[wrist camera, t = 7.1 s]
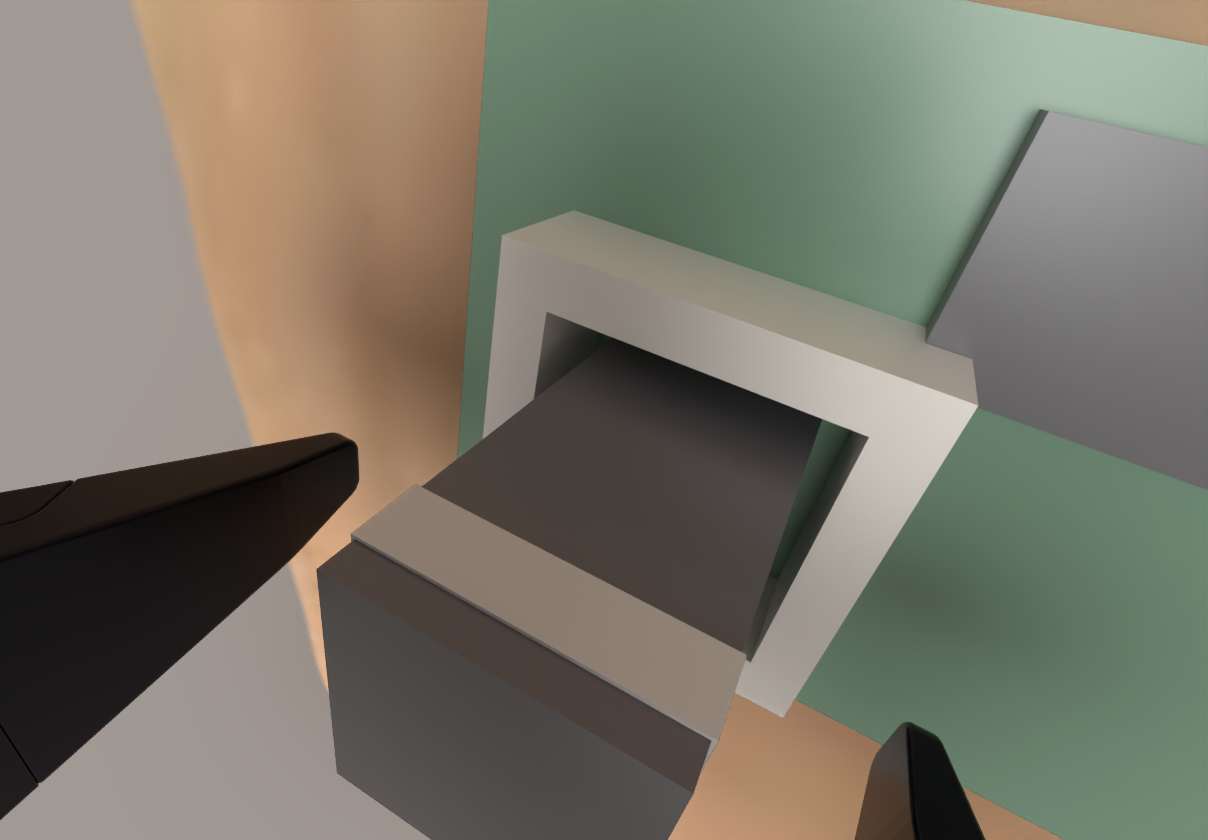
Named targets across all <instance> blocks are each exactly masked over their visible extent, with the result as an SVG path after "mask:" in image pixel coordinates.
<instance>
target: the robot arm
mask: <svg viewBox="0 0 1208 840" xmlns="http://www.w3.org/2000/svg"><path fill="white" fill-rule="evenodd" d="M358 482H359V461H358V447H357V445H356V443H355V442H354V441H353V440H351V439H349V438H347V437H345V436H343V435H341V434H338V433H326V434H321V435H315V436H310V437H304V438H299V439H293V440H288V441H283V442H277V443H272V444H266V445H261V446H255V447H250V448H245V449H239V450H233V451H228V452H222V453H217V454H211V455H206V456H201V457H195V458H190V459H184V460H179V461H173V462H168V463H162V464H157V465H151V466H146V467H140V468H135V469H129V470H124V471H118V472H113V473H108V474H102V475H96V476H91V477H86V478H80V479H77V480H76V481H71V480H69V481H63V482H58V483H53V484H47V485H42V486H36V487H30V488H24V489H18V490H12V491H6V492H1V493H0V820H1V819H2V818H3V817H4V816H5V815H7V814H8V813H9V812H10V811H11V810H12V809H13V808H14V807H16V806H17V805H18V804H19V803H20V802H21V801H22V800H23V799H24V798H25V797H27V796H28V795H29V794H30V793H31V792H32V791H33V790H35V788H37V787H38V785H39V783H41V782H43V781H44V780H45V779H46V778H47V777H49V776H50V775H51V774H52V773H53V772H54V771H55V770H56V769H58V768H59V767H60V766H61V765H62V764H63V763H64V762H65V761H66V760H68V759H69V758H70V757H71V756H72V755H73V754H74V753H75V752H77V751H78V750H79V749H80V748H81V747H82V746H83V745H84V744H86V743H87V742H88V740H90V739H91V738H92V737H93V736H94V735H96V734H97V733H98V732H99V731H100V730H101V729H102V728H103V727H105V726H106V725H107V724H108V723H109V722H110V721H111V720H112V719H114V718H115V717H116V716H117V715H118V714H119V713H120V712H121V711H122V710H123V709H124V708H126V707H127V706H128V705H129V704H130V703H131V702H133V701H134V700H135V699H136V698H137V697H138V696H139V695H140V694H142V693H143V692H144V691H145V690H146V689H147V688H148V687H149V686H150V685H152V684H153V683H154V682H155V681H156V680H157V679H158V678H159V677H161V676H162V675H163V674H164V673H165V672H166V671H167V670H168V669H169V668H170V667H172V666H173V665H174V664H175V663H176V662H177V661H178V660H179V659H181V658H182V657H183V656H184V655H185V654H186V653H187V652H188V651H190V650H191V649H192V648H193V647H194V646H195V645H196V644H197V643H199V642H200V641H201V640H202V639H203V638H204V637H205V636H206V635H208V634H209V633H210V632H211V631H212V630H213V629H214V628H215V627H216V626H217V625H219V624H220V623H221V622H222V621H223V620H224V619H225V618H227V617H228V616H229V615H230V614H231V613H232V612H233V611H234V610H236V608H238V607H239V606H240V605H241V604H242V603H243V602H244V601H246V600H247V599H248V598H249V597H250V596H251V595H252V594H253V593H255V592H256V591H257V590H258V589H259V588H260V587H261V586H262V585H263V584H265V583H266V582H267V581H268V580H269V579H270V578H271V577H272V576H274V575H275V574H276V573H277V572H278V571H279V570H280V569H281V568H282V567H284V566H285V565H286V564H287V563H288V562H289V561H290V560H291V559H292V558H293V557H294V556H295V555H296V554H297V553H298V552H299V551H300V550H301V549H302V548H303V547H304V546H305V545H306V543H307V542H308V541H309V540H310V539H311V538H312V537H313V536H314V535H315V534H316V533H317V532H318V530H319V529H320V528H321V527H322V526H323V525H324V524H325V523H326V522H327V521H328V520H329V519H330V517H331V516H332V515H333V514H334V513H335V512H336V511H337V510H338V509H339V508H340V507H341V506H342V504H343V503H344V502H345V501H346V500H347V499H348V498H349V497H350V496H351V495H352V494H353V492H354V491H355V489H356V488H357V485H358ZM855 840H985V838H984V835H983V833H982V831H981V829H980V826H979V824H978V822H977V819H976V817H975V815H974V813H973V810H972V808H971V806H970V804H969V801H968V799H967V797H966V795H965V792H964V790H963V788H962V786H961V783H960V781H959V779H958V777H957V774H956V772H955V770H954V768H953V765H952V763H951V761H950V759H949V756H948V754H947V752H946V750H945V747H944V745H943V743H942V741H941V740H940V739H939V737H938V736H936V735H935V734H933V733H931V732H929V731H927V730H925V729H924V728H922V727H920V726H918V725H916V724H914V723H912V722H908V721H907V722H903V723H902V724H900V725H899V727H898V728H897V729H896V730H895V731H894V733H893V734H892V735H891V736H890V737H889V739H888V740H887V741H886V742H885V744H884V745H883V746H882V747H881V748H880V750H879V751H878V752H877V754H876V756H875V758H874V760H873V762H872V765H871V769H870V773H869V777H868V782H867V786H866V791H865V795H864V800H863V804H862V809H861V813H860V818H859V822H858V827H857V831H856V836H855Z"/></svg>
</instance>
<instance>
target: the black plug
mask: <svg viewBox="0 0 1208 840" xmlns="http://www.w3.org/2000/svg"><path fill="white" fill-rule="evenodd" d="M821 422H822V419H821V418H818V417H816V416H813V415H811V414H808V413H806V412H803V411H800V410H798V409H795V408H793V407H790V406H788V405H785V404H782V403H780V402H777V401H775V400H772V399H770V398H767V397H764V396H762V395H759V394H757V393H754V392H752V391H749V390H746V389H744V388H741V387H739V386H736V385H734V384H731V383H728V382H726V381H723V380H721V379H718V378H716V377H713V376H710V375H708V374H705V373H703V372H700V371H698V370H695V369H692V368H690V367H687V366H685V365H682V364H680V363H677V362H674V361H672V360H669V359H667V358H664V357H662V356H659V355H656V354H654V353H651V352H649V351H646V350H644V349H641V348H638V347H636V346H633V345H631V344H628V343H626V342H623V341H620V340H618V339H615V338H612V339H610V340H609V341H608V342H607V343H605V344H604V345H603V346H601V347H600V348H599V349H598V350H596V351H595V352H594V353H592V354H591V355H590V356H589V357H587V358H586V359H585V360H584V361H582V362H581V363H580V364H578V365H577V366H576V367H575V368H573V369H572V370H571V371H569V372H568V373H567V374H566V375H564V376H563V377H562V378H561V379H559V380H558V381H557V382H555V383H554V384H553V385H552V386H550V387H549V388H548V389H546V390H545V391H544V392H543V393H541V394H540V395H539V396H537V397H536V398H535V399H534V400H532V401H531V402H530V403H529V404H527V405H526V406H525V407H523V408H522V409H521V410H520V411H518V412H517V413H516V414H514V415H513V416H512V417H511V418H509V419H508V420H507V421H505V422H504V423H503V424H502V425H500V426H499V427H498V428H497V429H495V430H494V431H493V432H491V433H490V434H489V435H488V436H486V437H485V438H484V439H482V440H481V441H480V442H479V443H477V444H476V445H475V446H473V447H472V448H471V449H470V450H468V451H467V452H466V453H465V454H463V455H462V456H461V457H459V458H458V459H457V460H456V461H454V462H453V463H452V464H450V465H449V466H448V467H447V468H445V469H444V470H443V471H441V472H440V473H439V474H438V475H436V476H435V477H434V478H433V479H431V480H430V481H429V482H427V483H426V484H425V485H424V486H422V487H420V486H418V485H417V484H415V485H414V486H413V487H411V488H410V489H409V490H407V491H406V492H405V493H403V494H402V495H401V496H399V497H398V498H397V499H396V500H394V501H393V502H392V503H390V504H389V505H388V506H386V507H385V508H384V509H383V510H381V511H380V512H379V513H377V514H376V515H375V516H373V517H372V518H371V519H369V520H368V521H367V522H366V523H364V524H363V525H362V526H360V527H359V528H358V529H356V530H355V531H354V532H353V533H351V543H349V544H348V545H347V546H346V547H344V548H343V549H342V550H340V551H339V552H338V553H337V554H335V555H334V556H333V557H331V558H330V559H329V560H328V561H326V562H325V563H324V564H322V565H321V566H320V567H319V568H317V569H316V570H317V579H318V589H319V599H320V609H321V619H322V629H323V639H324V649H325V658H326V668H327V678H328V688H329V698H330V707H331V718H332V728H333V737H334V747H335V757H336V767H337V773H338V774H339V775H341V776H342V777H343V778H345V779H346V780H348V781H349V782H350V783H352V784H353V785H355V786H356V787H357V788H359V789H360V790H362V791H363V792H365V793H366V794H367V795H369V796H370V797H372V798H373V799H374V800H376V801H377V802H379V803H380V804H382V805H383V806H384V807H386V808H387V809H389V810H390V811H392V812H393V813H394V814H396V815H397V816H399V817H400V818H401V819H403V820H404V821H406V822H407V823H409V824H410V825H411V826H413V827H414V828H416V829H417V830H418V831H420V832H421V833H423V834H424V835H426V836H427V837H429V838H430V839H431V840H668V838H669V836H670V835H671V833H672V831H673V829H674V827H675V826H676V824H677V822H678V820H679V818H680V817H681V815H682V813H683V811H684V809H685V808H686V806H687V804H688V802H689V800H690V799H691V797H692V795H693V793H694V790H695V787H696V784H697V781H698V779H699V776H700V774H701V772H702V770H703V768H704V766H705V765H706V763H707V761H708V759H709V757H710V755H711V754H712V752H713V750H714V748H715V746H716V745H717V743H718V741H719V738H720V735H721V732H722V729H723V726H724V723H725V720H726V717H727V714H728V711H729V708H730V705H731V702H732V699H733V696H734V693H735V690H736V687H737V684H738V681H739V678H740V675H741V672H742V669H743V666H744V663H745V660H746V657H747V655H746V654H744V653H742V651H743V648H744V645H745V642H746V639H747V636H748V633H749V631H750V628H751V625H752V622H753V619H754V616H755V613H756V610H757V607H758V604H759V602H760V599H761V596H762V593H763V590H764V587H765V584H766V581H767V578H768V575H769V573H770V570H771V567H772V564H773V561H774V558H775V555H776V552H777V549H778V546H779V544H780V541H781V538H782V535H783V532H784V529H785V526H786V523H787V520H788V517H789V515H790V512H791V509H792V506H793V503H794V500H795V497H796V494H797V491H798V488H799V485H800V483H801V480H802V477H803V474H804V471H805V468H806V465H807V462H808V459H809V456H810V454H811V451H812V448H813V445H814V442H815V439H816V436H817V433H818V430H819V427H820V425H821Z"/></svg>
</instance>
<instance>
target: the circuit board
mask: <svg viewBox="0 0 1208 840" xmlns="http://www.w3.org/2000/svg"><path fill="white" fill-rule="evenodd" d="M612 338H615V339H618V340H620V341H623V342H626V343H628V344H631V345H633V346H636V347H638V348H641V349H644V350H646V351H649V352H651V353H654V354H656V355H659V356H662V357H664V358H667V359H669V360H672V361H674V362H677V363H680V364H682V365H685V366H687V367H690V368H692V369H695V370H698V371H700V372H703V373H705V374H708V375H710V376H713V377H716V378H718V379H721V380H723V381H726V382H728V383H731V384H734V385H736V386H739V387H741V388H744V389H746V390H749V391H752V392H754V393H757V394H759V395H762V396H764V397H767V398H770V399H772V400H775V401H777V402H780V403H782V404H785V405H788V406H790V407H793V408H795V409H798V410H800V411H803V412H806V413H808V414H811V415H813V416H816V417H818V418H821V419H822V422H821V425H820V427H819V430H818V433H817V436H816V439H815V442H814V445H813V448H812V451H811V454H810V456H809V459H808V462H807V465H806V468H805V471H804V474H803V477H802V480H801V483H800V485H799V488H798V491H797V494H796V497H795V500H794V503H793V506H792V509H791V512H790V515H789V517H788V520H787V523H786V526H785V529H784V532H783V535H782V538H781V541H780V544H779V546H778V549H777V552H776V555H775V558H774V561H773V564H772V567H771V570H770V573H769V575H768V578H767V581H766V584H765V587H764V590H763V593H762V596H761V599H760V602H759V604H758V607H757V610H756V613H755V616H754V619H753V622H752V625H751V628H750V631H749V633H748V636H747V639H746V642H745V645H744V648H743V651H742V653H744V654H746V655H747V657H746V660H745V663H744V666H743V669H742V672H741V675H740V678H739V681H738V684H737V687H736V690H735V693H737V694H738V695H740V696H742V697H744V698H746V699H748V700H750V701H752V702H753V703H755V704H757V705H759V706H761V707H763V708H765V709H767V710H768V711H770V712H772V713H774V714H776V715H778V716H780V717H782V718H783V717H784V716H785V714H786V713H787V711H788V709H789V708H790V706H791V705H792V703H793V701H794V700H797V701H799V702H801V703H803V704H805V705H807V706H809V707H811V708H813V709H815V710H817V711H818V712H820V713H822V714H824V715H826V716H828V717H830V718H832V719H834V720H836V721H838V722H840V723H841V724H843V725H845V726H847V727H849V728H851V729H853V730H855V731H857V732H859V733H861V734H863V735H864V736H866V737H868V738H870V739H872V740H874V741H876V742H878V743H880V744H882V745H884V744H885V742H886V741H887V740H888V739H889V737H890V736H891V735H892V734H893V733H894V731H895V730H896V729H897V728H898V727H899V725H900V724H902V723H903V722H907V721H908V722H912V723H914V724H916V725H918V726H920V727H922V728H924V729H925V730H927V731H929V732H931V733H933V734H935V735H936V736H938V737H939V739H940V740H941V741H942V743H943V745H944V747H945V750H946V752H947V754H948V756H949V759H950V761H951V763H952V765H953V768H954V770H955V772H956V774H957V777H958V779H959V781H960V783H961V786H962V787H964V788H966V789H968V790H970V791H972V792H974V793H976V794H977V795H979V796H981V797H983V798H985V799H987V800H989V801H991V802H993V803H995V804H997V805H999V806H1000V807H1002V808H1004V809H1006V810H1008V811H1010V812H1012V813H1014V814H1016V815H1018V816H1020V817H1022V818H1023V819H1025V820H1027V821H1029V822H1031V823H1033V824H1035V825H1037V826H1039V827H1041V828H1043V829H1045V830H1046V831H1048V832H1050V833H1052V834H1054V835H1056V836H1058V837H1060V838H1062V839H1064V840H1208V46H1205V45H1199V44H1194V43H1189V42H1183V41H1178V40H1173V39H1167V38H1162V37H1157V36H1151V35H1146V34H1141V33H1135V32H1130V31H1125V30H1119V29H1114V28H1109V27H1103V26H1098V25H1093V24H1087V23H1082V22H1077V21H1071V20H1066V19H1061V18H1056V17H1050V16H1045V15H1040V14H1034V13H1029V12H1024V11H1018V10H1013V9H1008V8H1002V7H997V6H992V5H986V4H981V3H976V2H970V1H965V0H489V2H488V17H487V32H486V46H485V61H484V75H483V90H482V105H481V119H480V134H479V149H478V163H477V178H476V193H475V207H474V222H473V236H472V251H471V266H470V280H469V295H468V310H467V324H466V339H465V354H464V368H463V383H462V397H461V412H460V427H459V441H458V456H457V459H458V458H459V457H461V456H462V455H463V454H465V453H466V452H467V451H468V450H470V449H471V448H472V447H473V446H475V445H476V444H477V443H479V442H480V441H481V440H482V439H484V438H485V437H486V436H488V435H489V434H490V433H491V432H493V431H494V430H495V429H497V428H498V427H499V426H500V425H502V424H503V423H504V422H505V421H507V420H508V419H509V418H511V417H512V416H513V415H514V414H516V413H517V412H518V411H520V410H521V409H522V408H523V407H525V406H526V405H527V404H529V403H530V402H531V401H532V400H534V399H535V398H536V397H537V396H539V395H540V394H541V393H543V392H544V391H545V390H546V389H548V388H549V387H550V386H552V385H553V384H554V383H555V382H557V381H558V380H559V379H561V378H562V377H563V376H564V375H566V374H567V373H568V372H569V371H571V370H572V369H573V368H575V367H576V366H577V365H578V364H580V363H581V362H582V361H584V360H585V359H586V358H587V357H589V356H590V355H591V354H592V353H594V352H595V351H596V350H598V349H599V348H600V347H601V346H603V345H604V344H605V343H607V342H608V341H609V340H610V339H612Z"/></svg>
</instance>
